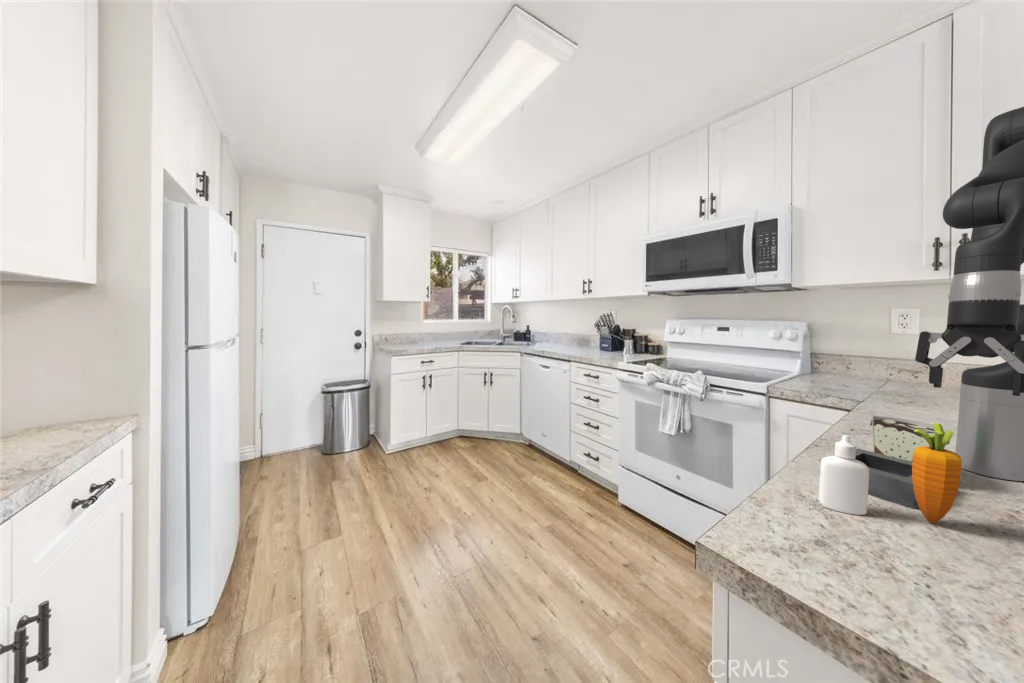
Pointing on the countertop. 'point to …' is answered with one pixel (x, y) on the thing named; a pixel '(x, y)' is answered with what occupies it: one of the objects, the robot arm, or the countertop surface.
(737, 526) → the countertop surface
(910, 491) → the grey square frame
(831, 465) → the eye dropper bottle
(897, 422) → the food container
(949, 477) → the carrot
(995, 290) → the robot arm
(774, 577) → the countertop surface
